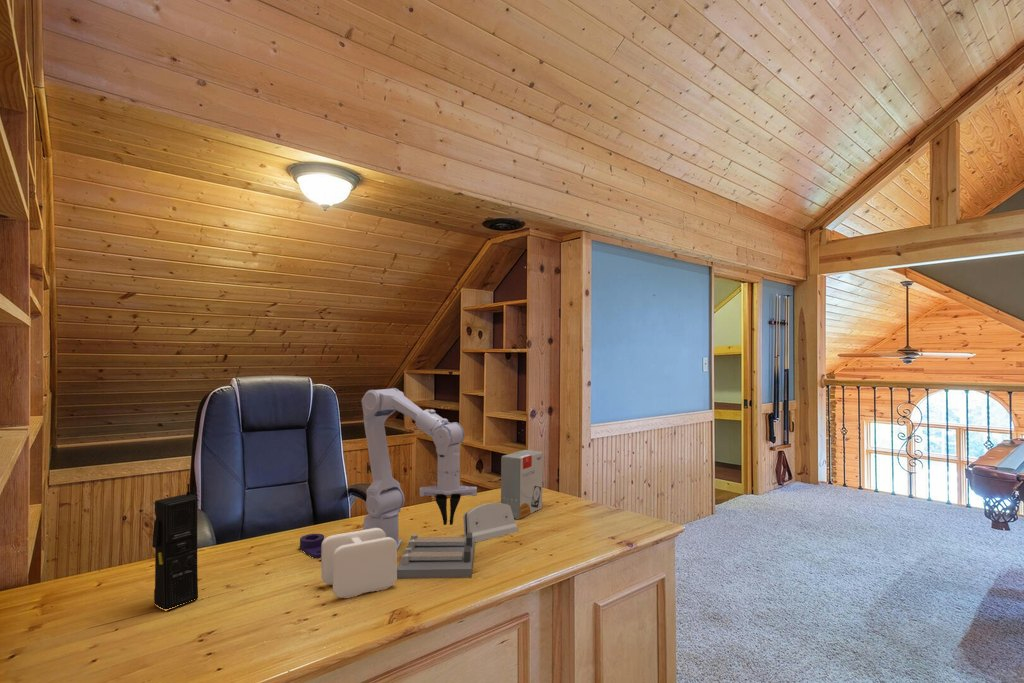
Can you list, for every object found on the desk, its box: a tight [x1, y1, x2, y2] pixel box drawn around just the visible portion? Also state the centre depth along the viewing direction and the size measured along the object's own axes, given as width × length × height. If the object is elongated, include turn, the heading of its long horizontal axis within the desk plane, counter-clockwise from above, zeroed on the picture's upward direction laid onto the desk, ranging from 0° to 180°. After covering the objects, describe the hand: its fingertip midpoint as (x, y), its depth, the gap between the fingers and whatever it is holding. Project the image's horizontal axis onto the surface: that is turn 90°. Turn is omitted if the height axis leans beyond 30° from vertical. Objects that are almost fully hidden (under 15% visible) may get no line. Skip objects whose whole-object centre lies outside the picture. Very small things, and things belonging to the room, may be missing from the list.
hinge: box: [462, 502, 520, 543], centre depth 158 cm, size 17×5×10 cm, turn 124°
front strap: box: [405, 551, 463, 560], centre depth 133 cm, size 15×3×1 cm, turn 92°
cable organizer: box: [320, 528, 398, 599], centre depth 123 cm, size 15×11×12 cm
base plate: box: [397, 533, 476, 579], centre depth 138 cm, size 18×22×5 cm
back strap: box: [410, 537, 465, 546], centre depth 143 cm, size 15×3×1 cm, turn 92°
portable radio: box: [151, 483, 199, 609], centre depth 115 cm, size 8×6×25 cm
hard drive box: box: [500, 449, 544, 520], centre depth 179 cm, size 16×8×20 cm, turn 147°
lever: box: [299, 533, 325, 559], centre depth 145 cm, size 12×6×3 cm, turn 35°
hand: (448, 523), depth 136 cm, fingers closed
